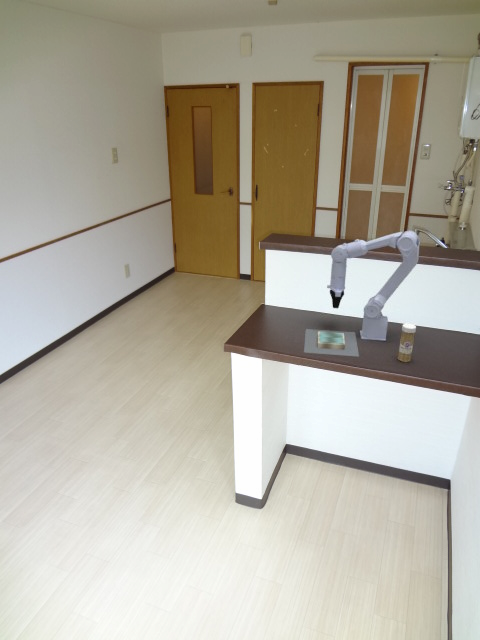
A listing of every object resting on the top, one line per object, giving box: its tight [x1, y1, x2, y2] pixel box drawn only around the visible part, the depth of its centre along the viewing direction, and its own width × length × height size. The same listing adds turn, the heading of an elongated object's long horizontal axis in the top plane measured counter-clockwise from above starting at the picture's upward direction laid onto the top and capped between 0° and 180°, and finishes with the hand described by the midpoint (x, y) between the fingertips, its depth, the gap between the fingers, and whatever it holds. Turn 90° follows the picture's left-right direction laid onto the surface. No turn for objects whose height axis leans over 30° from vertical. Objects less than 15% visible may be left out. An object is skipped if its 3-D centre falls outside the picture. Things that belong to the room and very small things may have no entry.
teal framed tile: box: [318, 331, 345, 350], centre depth 177 cm, size 10×2×11 cm
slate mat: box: [303, 328, 360, 358], centre depth 178 cm, size 20×22×1 cm
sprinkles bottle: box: [397, 323, 417, 363], centre depth 163 cm, size 5×5×13 cm
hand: (335, 307), depth 186 cm, fingers closed
